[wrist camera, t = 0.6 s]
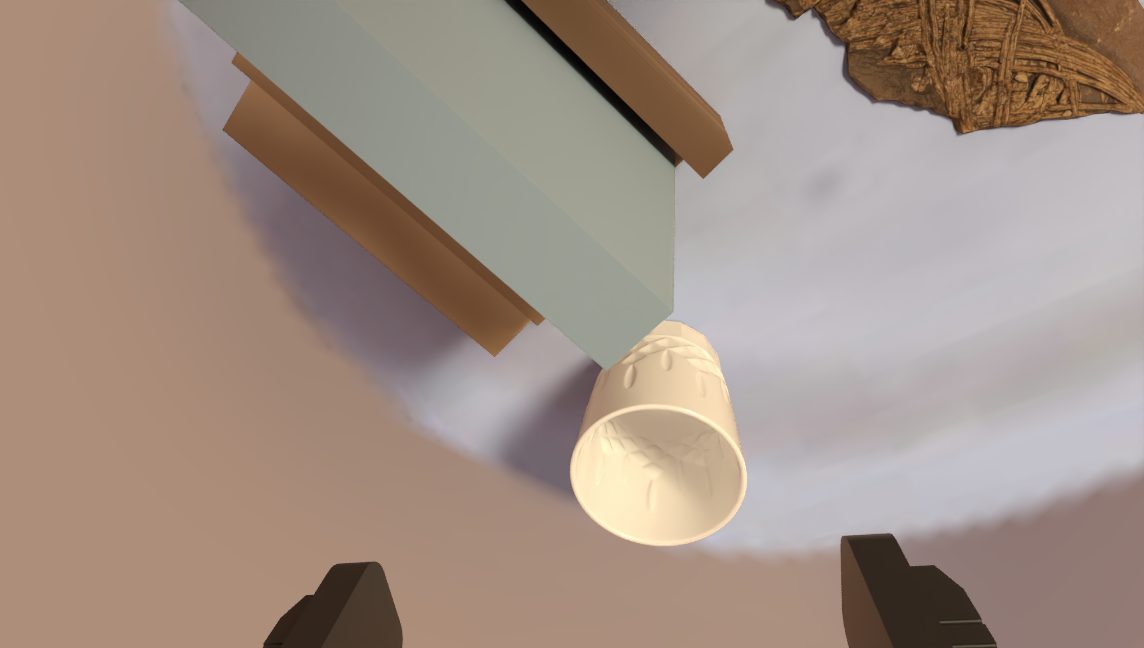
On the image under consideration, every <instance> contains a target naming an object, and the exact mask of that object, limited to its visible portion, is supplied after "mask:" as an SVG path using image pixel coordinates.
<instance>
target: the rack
mask: <svg viewBox="0 0 1144 648" xmlns="http://www.w3.org/2000/svg"><path fill="white" fill-rule="evenodd" d="M522 1H523V2H524V3H525V4H526V5H527V6H528V7H529V8H530V9H531V10H532V11H533V12H534V13H535V14H536V15H537V16H538V17H539V18H540V19H541V20H542V21H543V22H544V23H545V24H546V25H547V26H548V27H549V28H550V29H551V30H552V31H553V32H554V33H555V34H556V35H557V36H558V37H559V38H560V39H561V40H562V41H563V42H564V43H565V44H566V45H567V46H568V47H569V48H571V49H572V50H573V51H574V52H575V53H576V54H577V55H578V56H579V57H580V58H581V59H582V60H583V61H584V62H585V63H586V64H587V65H588V66H589V67H590V68H591V69H592V70H593V71H594V72H595V73H596V74H597V75H598V76H599V77H600V78H601V79H602V80H603V81H604V82H605V83H606V84H607V85H608V86H609V87H610V88H611V89H612V90H613V91H614V92H615V93H616V94H617V95H618V96H619V97H620V98H621V99H622V100H623V101H624V102H626V103H627V104H628V105H629V106H630V107H631V108H632V109H633V110H634V111H635V112H636V113H637V114H638V115H639V116H640V117H641V118H642V119H643V120H644V121H645V122H646V123H647V124H648V125H649V126H650V127H651V128H652V129H653V130H654V131H655V132H656V133H657V134H658V135H659V136H660V137H661V138H662V139H663V140H664V141H665V142H666V143H667V144H668V145H669V146H670V147H671V148H672V149H673V150H674V151H675V167H676V166H677V165H678V164H679V163H680V162H681V161H682V160H683V159H684V160H685V161H686V162H687V163H688V164H689V165H690V166H691V167H692V168H693V169H694V170H695V171H696V172H697V173H698V174H699V175H700V176H701V177H702V178H703V179H704V178H705V177H706V176H707V175H708V174H709V173H710V172H711V171H712V170H713V169H714V168H715V167H716V166H717V165H718V164H719V163H720V162H721V161H722V160H723V159H724V158H725V157H726V156H727V155H728V154H729V153H730V152H731V151H732V150H733V147H732V145H731V142H730V140H729V137H728V135H727V132H726V130H725V127H724V125H723V122H722V120H721V117H720V115H719V114H718V113H717V112H716V111H715V110H714V109H713V108H712V107H711V106H710V105H709V104H708V103H707V102H706V101H705V100H704V99H703V98H702V97H701V96H700V95H699V94H698V93H697V92H696V91H695V90H694V89H693V88H692V87H691V86H690V85H689V84H688V83H687V82H686V81H685V80H684V79H683V78H682V77H681V76H680V75H679V74H678V73H677V72H676V71H675V70H674V69H673V68H672V67H671V66H670V65H669V64H668V63H667V62H666V61H665V60H664V59H663V58H662V57H661V56H660V55H659V54H658V53H657V51H656V50H655V49H654V48H653V47H652V46H651V45H650V44H649V43H648V42H647V41H646V40H645V39H644V38H643V37H642V36H641V35H640V34H639V33H638V32H637V31H636V30H635V29H634V28H633V27H632V26H631V25H630V24H629V23H628V22H627V21H626V20H625V19H624V18H623V17H622V16H621V15H620V14H619V13H618V12H617V11H616V10H615V9H614V8H613V7H612V6H611V5H610V4H609V3H608V2H607V1H606V0H522Z"/></svg>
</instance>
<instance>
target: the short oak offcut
mask: <svg viewBox="0 0 1144 648" xmlns="http://www.w3.org/2000/svg"><path fill="white" fill-rule="evenodd" d="M223 131H225V132H226V133H227V134H228V135H229V136H231V137H232V138H233V139H234V140H235V141H236V142H238V143H239V144H240V145H241V146H242V147H244V148H245V149H246V150H247V151H248V152H250V153H251V154H252V155H253V156H254V157H256V158H257V159H258V160H259V161H260V162H262V163H263V164H264V165H265V166H266V167H268V168H269V169H270V170H271V171H272V172H274V173H275V174H276V175H277V176H278V177H280V178H281V179H282V180H283V181H284V182H286V183H287V184H288V185H289V186H290V187H292V188H293V189H294V190H295V191H296V192H298V193H299V194H300V195H301V196H302V197H304V198H305V199H306V200H307V201H308V202H310V203H311V204H312V205H313V206H314V207H316V208H317V209H318V210H319V211H320V212H322V213H323V214H324V215H325V216H326V217H328V218H329V219H330V220H331V221H332V222H334V223H335V224H336V225H337V226H338V227H340V228H341V229H342V230H343V231H344V232H346V233H347V234H348V235H349V236H350V237H352V238H353V239H354V240H355V241H356V242H358V243H359V244H360V245H361V246H362V247H364V248H365V249H366V250H367V251H368V252H370V253H371V254H372V255H373V256H374V257H376V258H377V259H378V260H379V261H380V262H381V263H383V264H384V265H385V266H386V267H387V268H389V269H390V270H391V271H392V272H393V273H395V274H396V275H397V276H398V277H399V278H401V279H402V280H403V281H404V282H405V283H407V284H408V285H409V286H410V287H411V288H413V289H414V290H415V291H416V292H417V293H419V294H420V295H421V296H422V297H423V298H425V299H426V300H427V301H428V302H429V303H431V304H432V305H433V306H434V307H435V308H437V309H438V310H439V311H440V312H441V313H443V314H444V315H445V316H446V317H447V318H449V319H450V320H451V321H452V322H453V323H455V324H456V325H457V326H458V327H459V328H461V329H462V330H463V331H464V332H465V333H467V334H468V335H469V336H470V337H471V338H473V339H474V340H475V341H476V342H477V343H479V344H480V345H481V346H482V347H483V348H485V349H486V350H487V351H488V352H489V353H491V354H492V355H493V356H494V357H495V356H496V355H497V354H498V353H499V352H500V351H501V350H502V349H503V348H504V347H505V346H506V345H507V344H508V343H509V342H510V341H511V340H512V339H513V338H514V337H515V336H516V335H517V334H518V333H519V332H520V331H521V330H522V329H523V328H524V327H525V326H526V325H527V324H528V323H529V322H530V321H531V320H530V319H529V318H528V317H527V316H525V315H524V314H523V313H522V312H521V311H520V310H518V309H517V308H516V307H515V306H514V305H513V304H511V303H510V302H509V301H508V300H507V299H506V298H504V297H503V296H502V295H501V294H500V293H499V292H497V291H496V290H495V289H494V288H493V287H492V286H491V285H489V284H488V283H487V282H486V281H485V280H484V279H482V278H481V277H480V276H479V275H478V274H477V273H475V272H474V271H473V270H472V269H471V268H470V267H468V266H467V265H466V264H465V263H464V262H463V261H461V260H460V259H459V258H458V257H457V256H456V255H454V254H453V253H452V252H451V251H450V250H449V249H448V248H446V247H445V246H444V245H443V244H442V243H441V242H439V241H438V240H437V239H436V238H435V237H434V236H432V235H431V234H430V233H429V232H428V231H427V230H425V229H424V228H423V227H422V226H421V225H420V224H418V223H417V222H416V221H415V220H414V219H413V218H412V217H410V216H409V215H408V214H407V213H406V212H405V211H403V210H402V209H401V208H400V207H399V206H398V205H396V204H395V203H394V202H393V201H392V200H391V199H389V198H388V197H387V196H386V195H385V194H384V193H382V192H381V191H380V190H379V189H378V188H377V187H375V186H374V185H373V184H372V183H371V182H370V181H369V180H367V179H366V178H365V177H364V176H363V175H362V174H360V173H359V172H358V171H357V170H356V169H355V168H353V167H352V166H351V165H350V164H349V163H348V162H346V161H345V160H344V159H343V158H342V157H341V156H339V155H338V154H337V153H336V152H335V151H334V150H332V149H331V148H330V147H329V146H328V145H327V144H326V143H324V142H323V141H322V140H321V139H320V138H319V137H317V136H316V135H315V134H314V133H313V132H312V131H310V130H309V129H308V128H307V127H306V126H305V125H303V124H302V123H301V122H300V121H299V120H298V119H296V118H295V117H294V116H293V115H292V114H291V113H289V112H288V111H287V110H286V109H285V108H284V107H283V106H281V105H280V104H279V103H278V102H277V101H276V100H274V99H273V98H272V97H271V96H270V95H269V94H267V93H266V92H265V91H264V90H263V89H262V88H260V87H259V86H258V85H257V84H256V83H255V82H253V81H252V80H251V82H250V83H249V85H248V87H247V89H246V90H245V92H244V94H243V95H242V97H241V99H240V101H239V102H238V104H237V106H236V107H235V109H234V111H233V113H232V114H231V116H230V118H229V119H228V121H227V123H226V124H225V126H224V128H223Z"/></svg>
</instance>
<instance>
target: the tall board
mask: <svg viewBox="0 0 1144 648" xmlns="http://www.w3.org/2000/svg"><path fill="white" fill-rule="evenodd" d="M179 1H180V2H181V3H182V4H183V5H184V6H185V7H187V8H188V9H189V10H190V11H191V12H192V13H194V14H195V15H196V16H197V17H198V18H199V19H201V20H202V21H203V22H204V23H205V24H206V25H207V26H209V27H210V28H211V29H212V30H213V31H214V32H216V33H217V34H218V35H219V36H220V37H221V38H222V39H224V40H225V41H226V42H227V43H228V44H229V45H231V46H232V47H233V48H234V49H235V50H236V51H237V52H239V53H240V54H241V55H242V56H243V57H244V58H246V59H247V60H248V61H249V62H250V63H251V64H252V65H254V66H255V67H256V68H257V69H258V70H259V71H261V72H262V73H263V74H264V75H265V76H266V77H267V78H269V79H270V80H271V81H272V82H273V83H274V84H276V85H277V86H278V87H279V88H280V89H281V90H282V91H284V92H285V93H286V94H287V95H288V96H289V97H291V98H292V99H293V100H294V101H295V102H296V103H297V104H299V105H300V106H301V107H302V108H303V109H304V110H306V111H307V112H308V113H309V114H310V115H311V116H312V117H314V118H315V119H316V120H317V121H318V122H319V123H321V124H322V125H323V126H324V127H325V128H326V129H327V130H329V131H330V132H331V133H332V134H333V135H334V136H336V137H337V138H338V139H339V140H340V141H341V142H342V143H344V144H345V145H346V146H347V147H348V148H349V149H351V150H352V151H353V152H354V153H355V154H356V155H357V156H359V157H360V158H361V159H362V160H363V161H364V162H366V163H367V164H368V165H369V166H370V167H371V168H373V169H374V170H375V171H376V172H377V173H378V174H379V175H381V176H382V177H383V178H384V179H385V180H386V181H388V182H389V183H390V184H391V185H392V186H393V187H394V188H396V189H397V190H398V191H399V192H400V193H401V194H403V195H404V196H405V197H406V198H407V199H408V200H409V201H411V202H412V203H413V204H414V205H415V206H416V207H418V208H419V209H420V210H421V211H422V212H423V213H424V214H426V215H427V216H428V217H429V218H430V219H431V220H433V221H434V222H435V223H436V224H437V225H438V226H439V227H441V228H442V229H443V230H444V231H445V232H446V233H448V234H449V235H450V236H451V237H452V238H453V239H454V240H456V241H457V242H458V243H459V244H460V245H461V246H463V247H464V248H465V249H466V250H467V251H468V252H469V253H471V254H472V255H473V256H474V257H475V258H476V259H478V260H479V261H480V262H481V263H482V264H483V265H484V266H486V267H487V268H488V269H489V270H490V271H491V272H493V273H494V274H495V275H496V276H497V277H498V278H499V279H501V280H502V281H503V282H504V283H505V284H506V285H508V286H509V287H510V288H511V289H512V290H513V291H514V292H516V293H517V294H518V295H519V296H520V297H521V298H523V299H524V300H525V301H526V302H527V303H528V304H529V305H531V306H532V307H533V308H534V309H535V310H536V311H538V312H539V313H540V314H541V315H542V316H543V317H545V318H546V319H547V320H548V321H549V322H550V323H551V324H553V325H554V326H555V327H556V328H557V329H558V330H560V331H561V332H562V333H563V334H564V335H565V336H566V337H568V338H569V339H570V340H571V341H572V342H573V343H575V344H576V345H577V346H578V347H579V348H580V349H581V350H583V351H584V352H585V353H586V354H587V355H588V356H590V357H591V358H592V359H593V360H594V361H595V362H596V363H598V364H599V365H600V366H601V367H602V368H603V369H605V370H606V371H607V370H608V369H609V368H610V367H612V366H613V365H614V364H615V363H616V362H617V361H618V360H619V359H621V358H622V357H623V356H624V355H625V354H626V353H627V352H629V351H630V350H631V349H632V348H633V347H634V346H635V345H636V344H638V343H639V342H640V341H641V340H642V339H643V338H644V337H645V336H647V335H648V334H649V333H650V332H651V331H652V330H653V329H654V328H656V327H657V326H658V325H659V324H660V323H661V322H662V321H663V320H665V319H666V318H667V317H668V316H669V315H670V314H671V313H672V312H673V310H674V221H675V151H674V150H673V149H672V148H671V147H670V146H669V145H668V144H667V143H666V142H665V141H664V140H663V139H662V138H661V137H660V136H659V135H658V134H657V133H656V132H655V131H654V130H653V129H652V128H651V127H650V126H649V125H648V124H647V123H646V122H645V121H644V120H643V119H642V118H641V117H640V116H639V115H638V114H637V113H636V112H635V111H634V110H633V109H632V108H631V107H630V106H629V105H628V104H627V103H626V102H624V101H623V100H622V99H621V98H620V97H619V96H618V95H617V94H616V93H615V92H614V91H613V90H612V89H611V88H610V87H609V86H608V85H607V84H606V83H605V82H604V81H603V80H602V79H601V78H600V77H599V76H598V75H597V74H596V73H595V72H594V71H593V70H592V69H591V68H590V67H589V66H588V65H587V64H586V63H585V62H584V61H583V60H582V59H581V58H580V57H579V56H578V55H577V54H576V53H575V52H574V51H573V50H572V49H571V48H569V47H568V46H567V45H566V44H565V43H564V42H563V41H562V40H561V39H560V38H559V37H558V36H557V35H556V34H555V33H554V32H553V31H552V30H551V29H550V28H549V27H548V26H547V25H546V24H545V23H544V22H543V21H542V20H541V19H540V18H539V17H538V16H537V15H536V14H535V13H534V12H533V11H532V10H531V9H530V8H529V7H528V6H527V5H526V4H525V3H524V2H523V1H522V0H179Z"/></svg>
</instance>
